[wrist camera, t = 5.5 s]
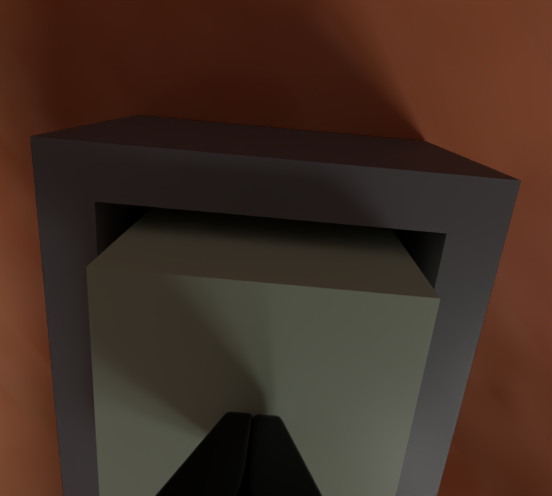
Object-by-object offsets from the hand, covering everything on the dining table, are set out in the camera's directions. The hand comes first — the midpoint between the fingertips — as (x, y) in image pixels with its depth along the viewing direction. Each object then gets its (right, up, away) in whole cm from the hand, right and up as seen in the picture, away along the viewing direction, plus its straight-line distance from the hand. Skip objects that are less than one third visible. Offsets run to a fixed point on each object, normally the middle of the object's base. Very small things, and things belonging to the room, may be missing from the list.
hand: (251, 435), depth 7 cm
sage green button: (0, +1, +4) cm, 4 cm away
